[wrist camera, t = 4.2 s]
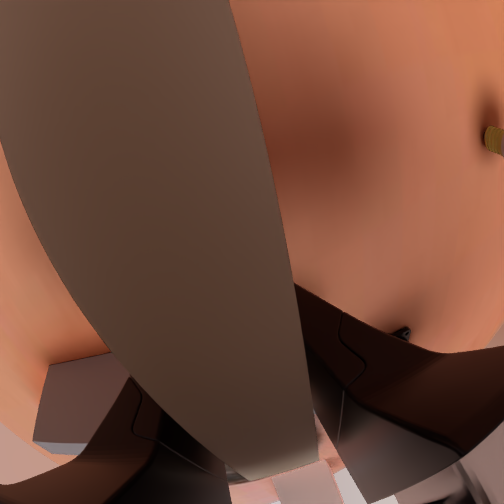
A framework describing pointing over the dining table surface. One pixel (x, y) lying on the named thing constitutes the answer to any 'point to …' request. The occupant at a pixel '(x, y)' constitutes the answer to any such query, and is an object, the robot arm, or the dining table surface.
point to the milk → (308, 485)
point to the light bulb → (494, 140)
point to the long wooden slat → (163, 211)
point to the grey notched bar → (77, 402)
